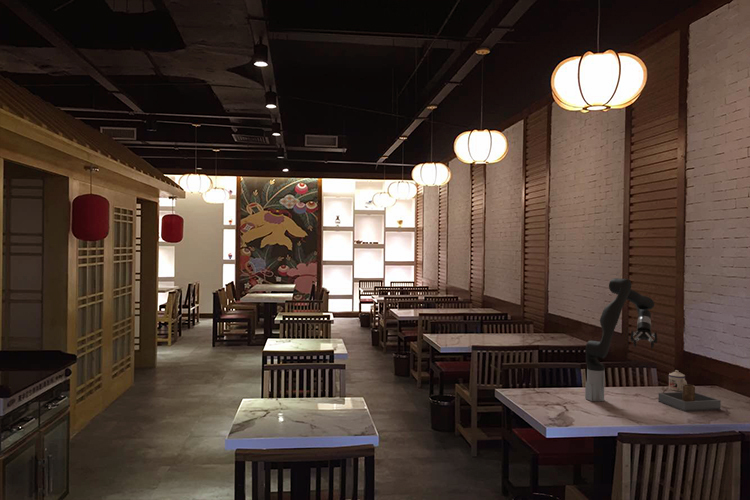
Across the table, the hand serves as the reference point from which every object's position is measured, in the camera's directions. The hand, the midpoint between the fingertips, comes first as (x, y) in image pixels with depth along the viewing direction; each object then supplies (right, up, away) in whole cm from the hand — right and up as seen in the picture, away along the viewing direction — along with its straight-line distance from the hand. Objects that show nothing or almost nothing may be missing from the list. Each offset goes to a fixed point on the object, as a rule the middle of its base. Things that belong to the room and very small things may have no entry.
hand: (643, 347), depth 329 cm
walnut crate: (+15, -28, -20) cm, 37 cm away
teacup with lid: (+29, -29, +15) cm, 44 cm away
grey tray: (+15, -29, -20) cm, 38 cm away
